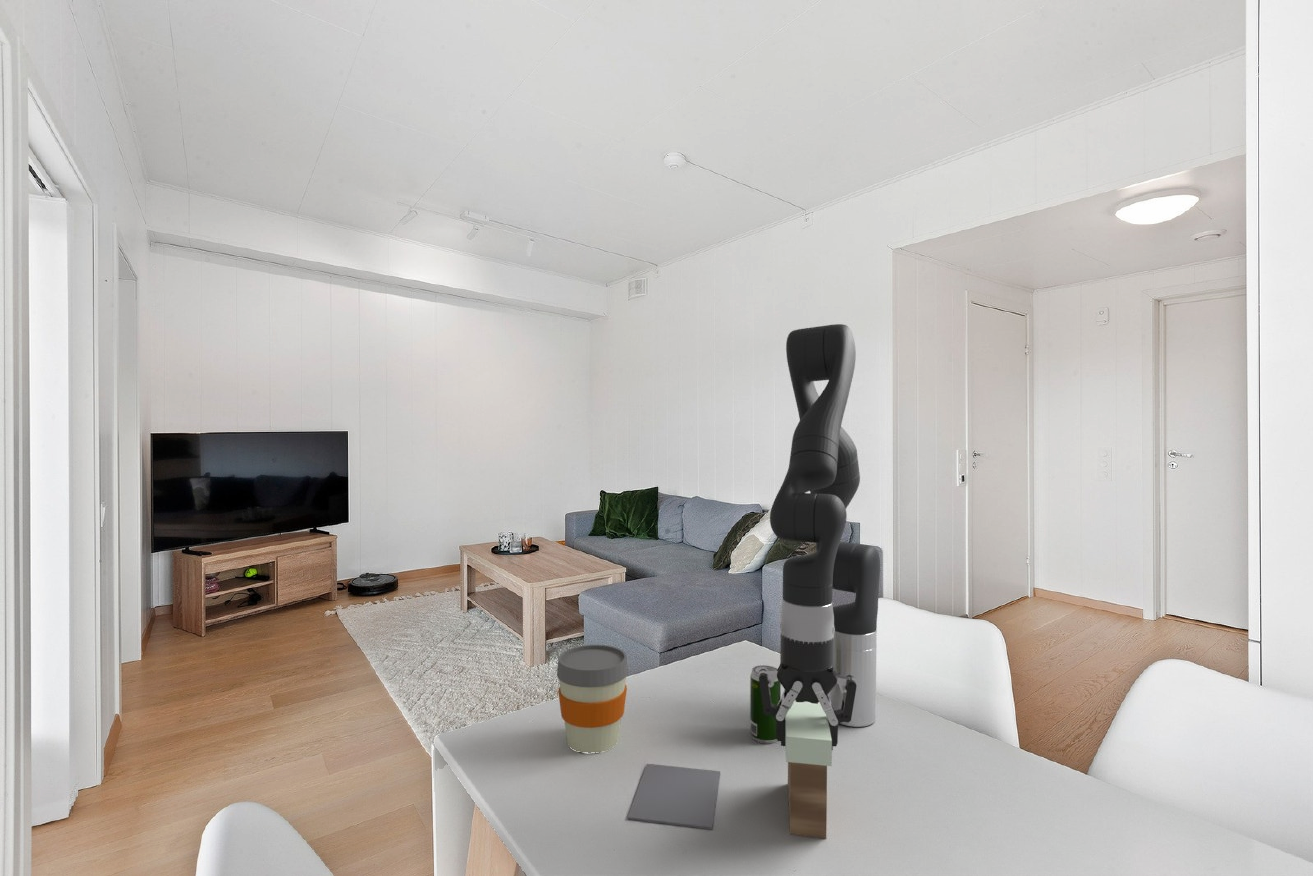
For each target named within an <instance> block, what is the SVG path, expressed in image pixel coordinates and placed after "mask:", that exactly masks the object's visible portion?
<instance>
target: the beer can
mask: <svg viewBox="0 0 1313 876" xmlns="http://www.w3.org/2000/svg"><path fill="white" fill-rule="evenodd" d="M761 669H766V670H767V671H777V669H778V668H777V667H775V666H771V665H767V664H766V665H765V664H763V665H761V664H760V665H756V666H754V667H753V666H752V668H751V673H750V680H749V681H750V684H749V686H750V687H749V688H750V689H749V690H750V691H749V694H750V696H749V700H750V701H749V704H750V705H749V707H750V708H749V714H750V715H749V720H750V721H749V725H750V727H749V733H750V736H751V737H752V740H754V741H755V742H757V743H760V744H765V745H767V744H769V745H770V744H775V743H776V742H778V741H777V739H776V719H775V718H774V717H773V716H766V715H765V714H764V712H763V705H762V698H761V691H760V683H759V671H760V670H761ZM781 686H782V685H781V683H780V682H779V680H778V679H776V680H775V681H774V685H773V687H769V688H770V695H771V702H772V703H773V704H775V705H778V703H779V701H780V699H781V697H782V692H781V691H782V689H781Z"/></svg>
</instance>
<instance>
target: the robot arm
mask: <svg viewBox="0 0 1313 876" xmlns="http://www.w3.org/2000/svg"><path fill="white" fill-rule="evenodd" d="M785 350H786V362H787V367H788V371H789V376H790V377H789V378H790V381H791V386H792V389H793V394H794V398H795V403H796V407H797V412H798V417H799V420H798V421H799V422H798V423H797V425H796V427H795V428H794V432H793V434H792V440H791V449H790V456H789V464H788V469H787V472H786V474H785V477H784V480H783V482H782V484H781V486H780V489H779V490H778V492H777V494H776V496H775V498H774V501H773V503H772V505H771V509H770V512H769V513H770V514H769V524H770V527H771V530H772V532H773V534H774V535H775V537H777V538H778V539H780V540H782V541H786V542H798V543H800V542H801V543H814V544H815V548H816V549H815V550H816V552H815V553H812V554H808V555H807V554H806V555H802V556H801V555H800V556H794V557H791V558H788V559H786V561H784V563H783V566H782V568H783V569H782V602H781V608H780V623H779V628H780V646H779V647H780V650H779V651H780V655H779V656H780V657H779V658H780V660H779V661H780V662H779V663H780V664H779V665H778V668H777V671H767V670H766V669H761V670H760V671H759V683H760V691H761V698H762V705H763V712H764V714H765V715H766V716H773V717H774V718H775V719H776V739H777V742H780V746H781V747H786V746H785V727H786V721H785V716H786V714H787V712H788V711H789V709H790V708H791V707H792V705H793V703H794V701H795V700H796V702H810V703H814V704H818V702H820V704H821V706H822V709H823V711H824V712H825V714H826V716H827V718H828V723H829V728H830V734H831V739H832V751H833V749H834V747H837V746H838V738H839V737H838V736H839V733H838V728H839V724H840V725H843V726H848V727H855V728H858V727H859V728H860V727H867V726H870V725H872V724H874V723H875V721H876V719H877V717H876V714H877V712H876V711H877V710H876V709H877V707H876V706H877V634H878V633H877V632H878V630H877V629H878V627H877V625H878V624H877V621H878V611H879V591H880V579H881V578H880V577H881V559H880V554H879V552H878V550H877V548H876V547H875V546H873V545H868V544H862V543H854V542H846V541H842V536H843V534H844V531H845V527H846V523H847V520H848V519H847V518H848V517H847V516H848V515H847V507H848V506H849V505H850V503H851V501H852V500H853V498H854V496H855V495H856V493H857V491H858V489H859V486H860V484H861V483H860V482H861V476H860V475H861V474H860V467H859V459H858V458H859V457H858V450H857V446H856V445H855V442H854V441H853V439H852V438H851V436H850V435H849V433H847V431H846V430H845V429H844V428H843V427H842V423H843V419H844V414H845V411H846V406H847V403H848V398H849V395H850V391H851V387H852V382H853V378H854V372H855V368H856V359H857V358H856V357H857V355H856V350H857V349H856V342H855V337H854V334H853V332H852V330H851V328H850V327H849V326H848V325H847V324H842V323H839V324H838V323H837V324H829V325H828V324H826V325H821V326H813V327H812V326H811V327H805V328H798V329H794V330H792V331H791V332H789V333H788V336H787V337H786V345H785ZM819 381H828V382H827V384H826V386H825V387H824V389H823V390H822V392H821V394H820V395H819V394H818V391H817V389H816V386H815V383H814V382H819ZM808 492H810V493H808ZM833 590H836V591H841V592H842V591H843V592H848V593H853V594H855V599H854V601H853V602H850V603H846V604H840V605H835V606H833ZM776 679H778V680H779V682H780V683H781V686H782V688H783V689H784V690H783V692H782V693H781V699H780V701H779V703H778V705H775V704H773V703H772V702H771V695H770V688H769V687H773V685H774V681H775V680H776Z"/></svg>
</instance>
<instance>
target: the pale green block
mask: <svg viewBox="0 0 1313 876" xmlns="http://www.w3.org/2000/svg"><path fill="white" fill-rule="evenodd" d="M785 721H786V727H785V746H784V747H785V762H787V763H788V762H794V763H804V764H814V765H824V766H827V767H832V765H833V764H832V762H833V760H832V759H833V756H832V755H833V754H832V753H833V750H832V739H831V734H830V728H829V723H828V718H827V716H826V714H825V712H824V711H823V709H822V706H821V704H820V702H818V704H814V703H810V702H796V700H795V701H794V703H793V705H792V707H791V708H790V709H789V711H788V712H787V714H786V716H785Z"/></svg>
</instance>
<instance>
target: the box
mask: <svg viewBox="0 0 1313 876" xmlns="http://www.w3.org/2000/svg"><path fill="white" fill-rule="evenodd" d="M827 787H828V766H824V765H814V764H804V763H794V762H787V793H788V794H787V797H788V798H787V799H788V814H789V816H788V817H789V819H788V820H789V834H790V835H794V836H795V835H796V836H804V837H811V838H817V839H819V838H820V839H827V817H828V816H827V813H828V811H827V810H828V809H827V804H828V798H827V797H828V795H827V794H828V788H827Z"/></svg>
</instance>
